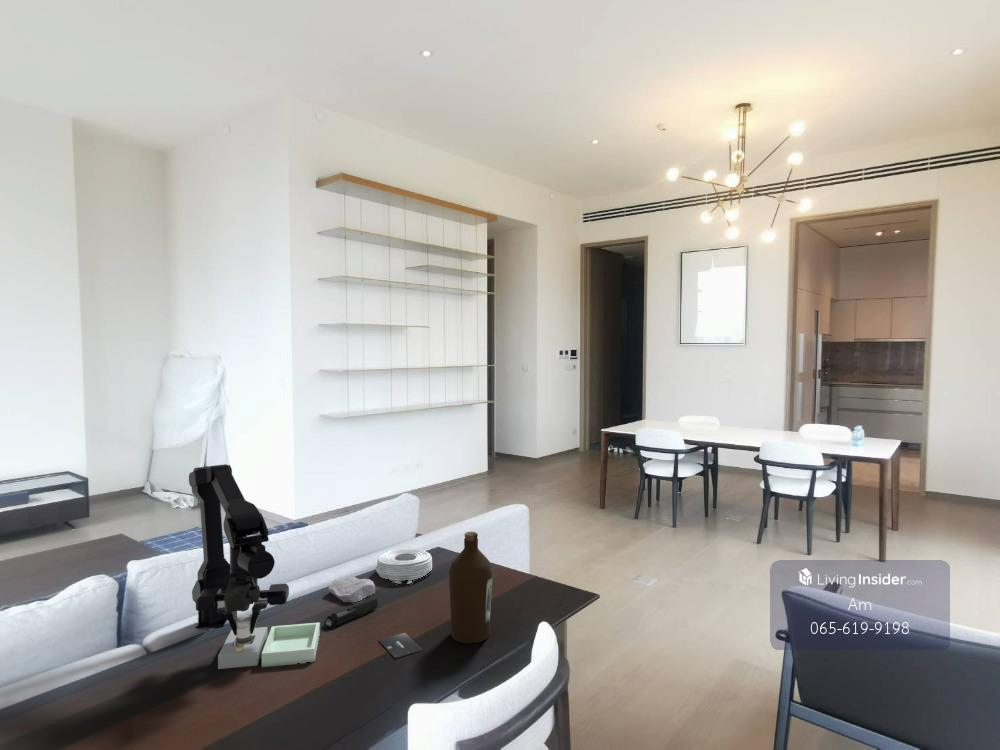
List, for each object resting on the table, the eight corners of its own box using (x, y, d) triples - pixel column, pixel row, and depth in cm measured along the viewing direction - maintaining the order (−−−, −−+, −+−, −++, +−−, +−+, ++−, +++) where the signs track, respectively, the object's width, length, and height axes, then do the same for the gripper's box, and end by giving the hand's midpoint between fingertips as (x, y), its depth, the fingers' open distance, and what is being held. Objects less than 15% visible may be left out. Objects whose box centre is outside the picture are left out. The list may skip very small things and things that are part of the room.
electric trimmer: (381, 611, 155) (381, 599, 155) (331, 631, 143) (331, 618, 143) (372, 607, 158) (372, 595, 158) (322, 626, 146) (322, 614, 146)
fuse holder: (218, 669, 125) (218, 652, 125) (231, 642, 137) (231, 627, 137) (257, 665, 127) (257, 649, 127) (267, 639, 139) (267, 624, 138)
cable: (405, 589, 170) (405, 568, 170) (363, 576, 180) (363, 557, 179) (443, 571, 185) (443, 552, 184) (402, 560, 194) (402, 542, 194)
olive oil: (447, 645, 136) (448, 540, 136) (449, 624, 147) (450, 527, 146) (492, 645, 137) (493, 540, 136) (491, 624, 147) (492, 527, 147)
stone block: (353, 612, 158) (379, 592, 166) (350, 596, 157) (376, 577, 166) (324, 603, 165) (349, 585, 173) (320, 588, 164) (347, 570, 172)
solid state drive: (395, 660, 130) (395, 657, 130) (378, 642, 138) (378, 639, 138) (423, 652, 134) (423, 649, 134) (404, 635, 142) (405, 632, 142)
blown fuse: (234, 657, 130) (234, 622, 130) (238, 650, 133) (238, 616, 133) (250, 656, 131) (250, 621, 130) (253, 649, 134) (252, 615, 134)
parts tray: (261, 667, 126) (261, 653, 126) (271, 638, 139) (271, 626, 139) (314, 662, 128) (314, 648, 128) (319, 634, 141) (319, 622, 141)
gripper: (187, 582, 121) (188, 655, 122) (281, 576, 125) (281, 647, 126) (202, 563, 132) (203, 631, 133) (289, 558, 136) (289, 624, 137)
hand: (244, 633), depth 132 cm, fingers closed on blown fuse, 3 cm apart
